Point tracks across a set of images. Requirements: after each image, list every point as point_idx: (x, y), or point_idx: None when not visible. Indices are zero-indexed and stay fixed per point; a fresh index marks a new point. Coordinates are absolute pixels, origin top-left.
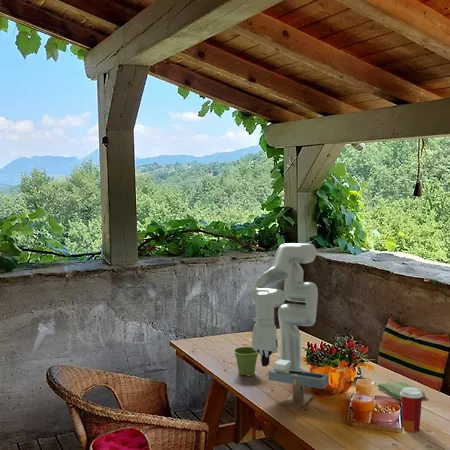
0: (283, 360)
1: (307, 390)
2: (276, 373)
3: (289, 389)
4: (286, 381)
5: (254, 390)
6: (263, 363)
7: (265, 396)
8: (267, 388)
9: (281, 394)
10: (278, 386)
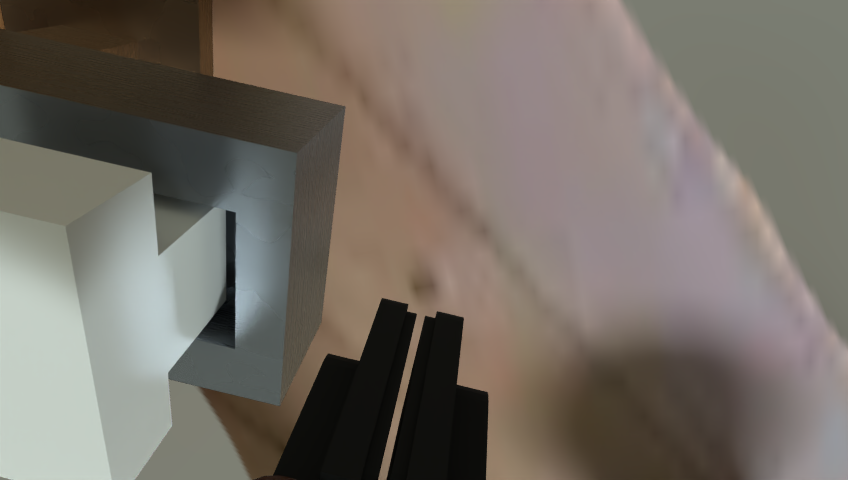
0: (5, 454)
1: None
2: (131, 110)
3: None
4: (27, 41)
5: (585, 251)
6: (421, 349)
7: (450, 123)
8: (474, 313)
9: None
10: None
